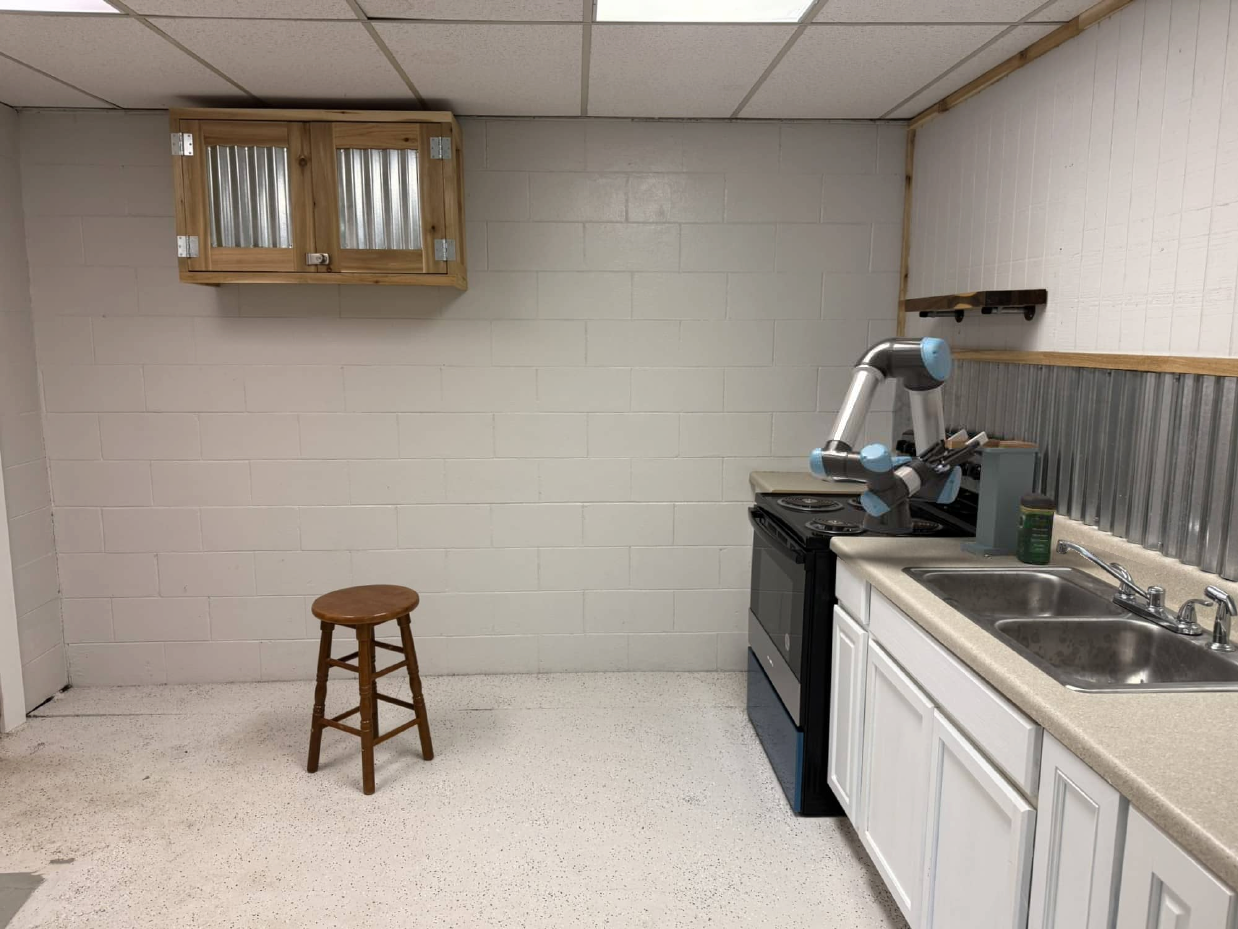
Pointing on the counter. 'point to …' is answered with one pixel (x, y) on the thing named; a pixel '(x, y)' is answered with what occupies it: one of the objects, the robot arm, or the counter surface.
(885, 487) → the robot arm
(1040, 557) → the coffee jar
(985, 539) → the stand
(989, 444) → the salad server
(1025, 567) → the counter surface
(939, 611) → the counter surface
